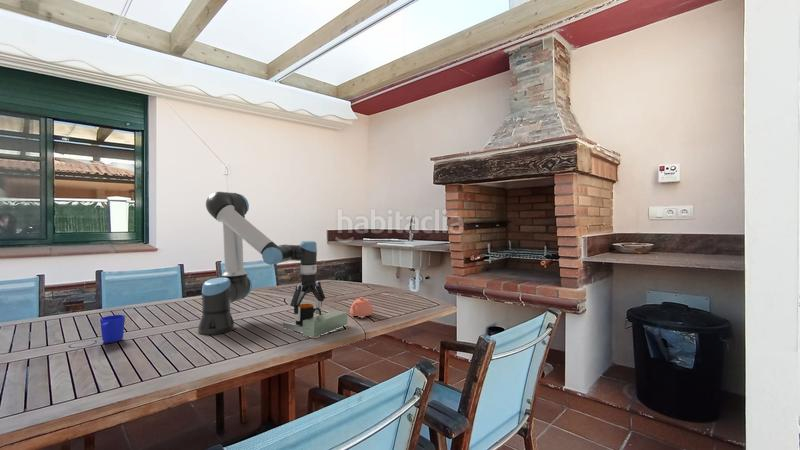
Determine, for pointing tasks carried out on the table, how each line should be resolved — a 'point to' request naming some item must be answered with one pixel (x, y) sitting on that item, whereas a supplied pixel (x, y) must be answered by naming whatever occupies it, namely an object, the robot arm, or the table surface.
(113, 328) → the mug
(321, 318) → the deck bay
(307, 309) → the mug
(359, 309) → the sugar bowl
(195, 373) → the table surface
